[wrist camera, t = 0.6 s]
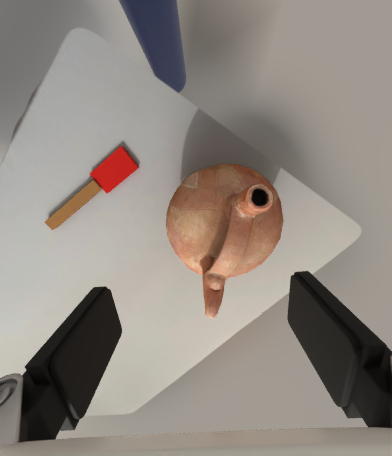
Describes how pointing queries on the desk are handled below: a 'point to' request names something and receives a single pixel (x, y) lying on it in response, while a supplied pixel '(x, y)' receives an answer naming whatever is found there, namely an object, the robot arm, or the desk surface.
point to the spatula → (97, 184)
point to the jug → (223, 225)
